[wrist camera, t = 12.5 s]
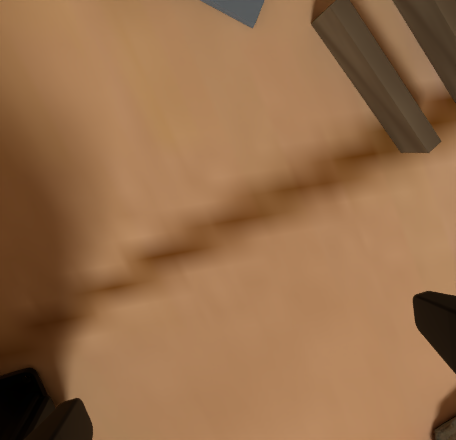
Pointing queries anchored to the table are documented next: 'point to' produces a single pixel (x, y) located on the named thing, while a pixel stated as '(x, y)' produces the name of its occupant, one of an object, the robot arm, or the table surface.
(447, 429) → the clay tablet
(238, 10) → the mat
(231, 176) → the table surface
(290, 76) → the table surface
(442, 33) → the rack
